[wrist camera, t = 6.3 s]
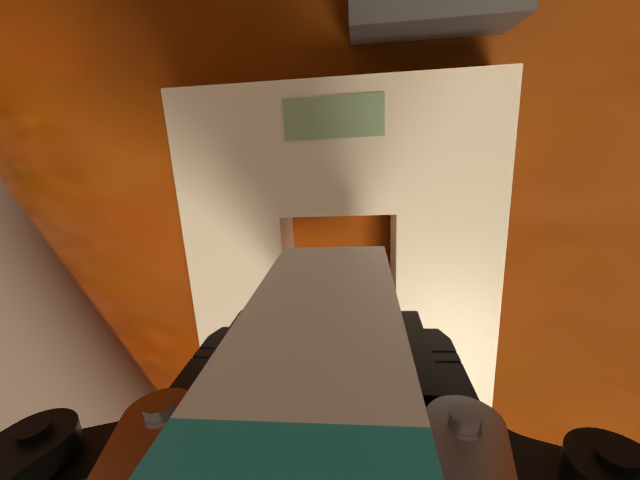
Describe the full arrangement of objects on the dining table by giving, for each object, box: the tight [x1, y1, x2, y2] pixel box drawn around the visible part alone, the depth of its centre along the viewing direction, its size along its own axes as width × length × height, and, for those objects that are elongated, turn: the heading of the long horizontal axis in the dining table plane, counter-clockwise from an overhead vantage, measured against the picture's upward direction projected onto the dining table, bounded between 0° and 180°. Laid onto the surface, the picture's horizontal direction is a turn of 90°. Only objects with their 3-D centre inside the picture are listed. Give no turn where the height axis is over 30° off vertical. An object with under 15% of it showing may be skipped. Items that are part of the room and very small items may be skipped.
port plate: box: [161, 63, 523, 408], centre depth 17 cm, size 14×16×3 cm
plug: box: [128, 246, 444, 480], centre depth 9 cm, size 4×4×10 cm
